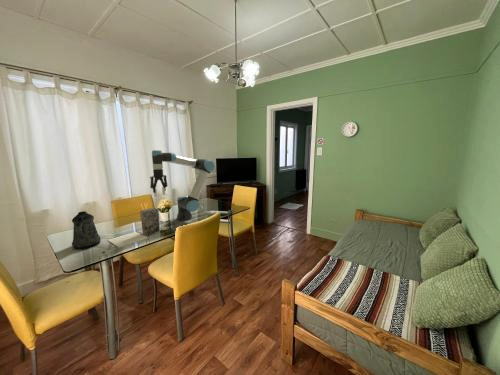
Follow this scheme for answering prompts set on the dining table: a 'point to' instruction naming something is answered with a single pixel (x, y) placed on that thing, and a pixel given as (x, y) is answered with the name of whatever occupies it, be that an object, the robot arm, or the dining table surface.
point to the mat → (128, 239)
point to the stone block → (150, 220)
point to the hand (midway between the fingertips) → (159, 195)
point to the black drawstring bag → (84, 232)
